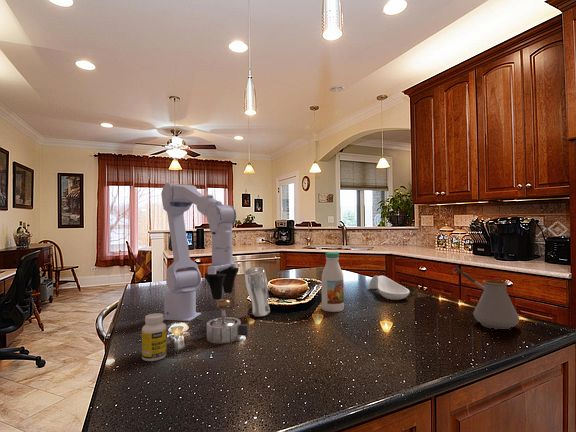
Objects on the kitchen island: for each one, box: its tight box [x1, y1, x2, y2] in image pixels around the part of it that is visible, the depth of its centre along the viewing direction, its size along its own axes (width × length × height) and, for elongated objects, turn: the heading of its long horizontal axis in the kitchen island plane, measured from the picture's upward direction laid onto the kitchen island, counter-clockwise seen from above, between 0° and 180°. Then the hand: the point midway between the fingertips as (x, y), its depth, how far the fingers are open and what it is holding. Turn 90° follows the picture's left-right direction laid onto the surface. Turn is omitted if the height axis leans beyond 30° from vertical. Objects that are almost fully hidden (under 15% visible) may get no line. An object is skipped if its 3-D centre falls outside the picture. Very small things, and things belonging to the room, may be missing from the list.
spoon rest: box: [368, 275, 410, 301], centre depth 135 cm, size 24×12×7 cm, turn 12°
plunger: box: [212, 298, 235, 327], centre depth 89 cm, size 6×6×7 cm
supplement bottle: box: [141, 312, 168, 362], centre depth 77 cm, size 5×5×10 cm
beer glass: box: [244, 266, 271, 318], centre depth 108 cm, size 7×7×15 cm
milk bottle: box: [321, 251, 345, 313], centre depth 115 cm, size 8×8×20 cm
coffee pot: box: [452, 267, 520, 330], centre depth 101 cm, size 21×12×15 cm, turn 16°
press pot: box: [206, 316, 249, 344], centre depth 89 cm, size 11×9×4 cm
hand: (222, 295), depth 92 cm, fingers open, 7 cm apart
